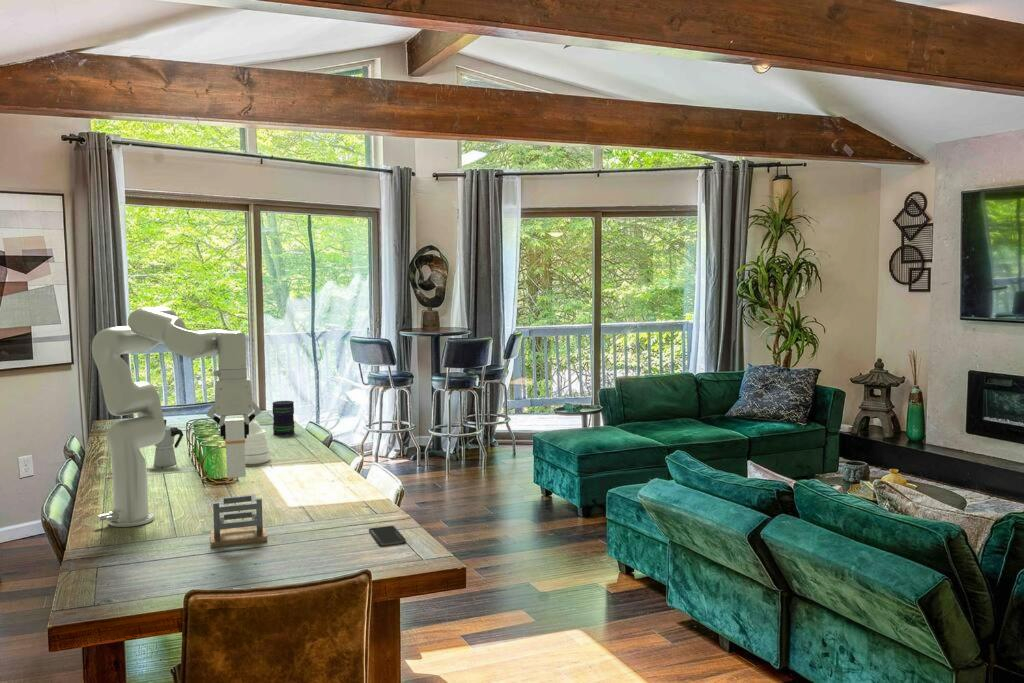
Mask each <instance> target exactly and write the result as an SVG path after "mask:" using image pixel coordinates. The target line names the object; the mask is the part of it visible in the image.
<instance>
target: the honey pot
mask: <svg viewBox="0 0 1024 683" xmlns="http://www.w3.org/2000/svg"><path fill="white" fill-rule="evenodd" d="M266 433H267V431H266V430H265V429H263V428H262V426H261V425H260V424H259V422H258V421H257V416H256V417H255V418H254V419H253V420H252V421H251V422H250V423H249V435H247V438H245V465H252V464H253V465H255V464H262V463H267V462H268V461H270V460H271V451H270V449H271V447H270V444H269V442H268V438H267V437H266Z"/></svg>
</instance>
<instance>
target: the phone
mask: <svg viewBox="0 0 1024 683" xmlns="http://www.w3.org/2000/svg"><path fill="white" fill-rule="evenodd" d="M368 534H370V536H371V538H373V540H374V542H375V543H376V545H378V547H381V548H382V547H383V548H384V547H391V546H397V545H398V546H399V545H405V544H406V542H407V540H406V538H405V537H404V535H403V534H401V532H400V531H399V530H398V529H397V527H396V526H395V525H388V526H387V525H386V526H380V527H378V526H377V527H371V528H369V529H368Z"/></svg>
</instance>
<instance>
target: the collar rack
mask: <svg viewBox="0 0 1024 683" xmlns="http://www.w3.org/2000/svg"><path fill="white" fill-rule="evenodd" d="M226 504H227V505H226ZM212 507H213V510H212V511H213V530H210V548H220V547H229V546H236V545H237V546H238V545H248V544H256V543H257V544H258V543H265V542H268V534H267V530H266V525H265V524H264V523H263V498H262V497H256V494H247V495H236V496H225V497H218V501H214V502H212ZM249 518H251V519H249ZM238 519H240V520H238ZM241 519H243V520H241ZM244 519H245V520H244ZM230 520H231V521H230ZM232 520H236V521H232Z"/></svg>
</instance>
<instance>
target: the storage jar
mask: <svg viewBox="0 0 1024 683" xmlns="http://www.w3.org/2000/svg"><path fill="white" fill-rule="evenodd" d="M294 402H295V401H293V400H277V401H273V402H272V415H273V416H272V417H273V422H272V429H273V434H272V435H274V436H282V437H283V436H291V435H294V434H295V426H296V425H295V421H294V413H295V406H294Z"/></svg>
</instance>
